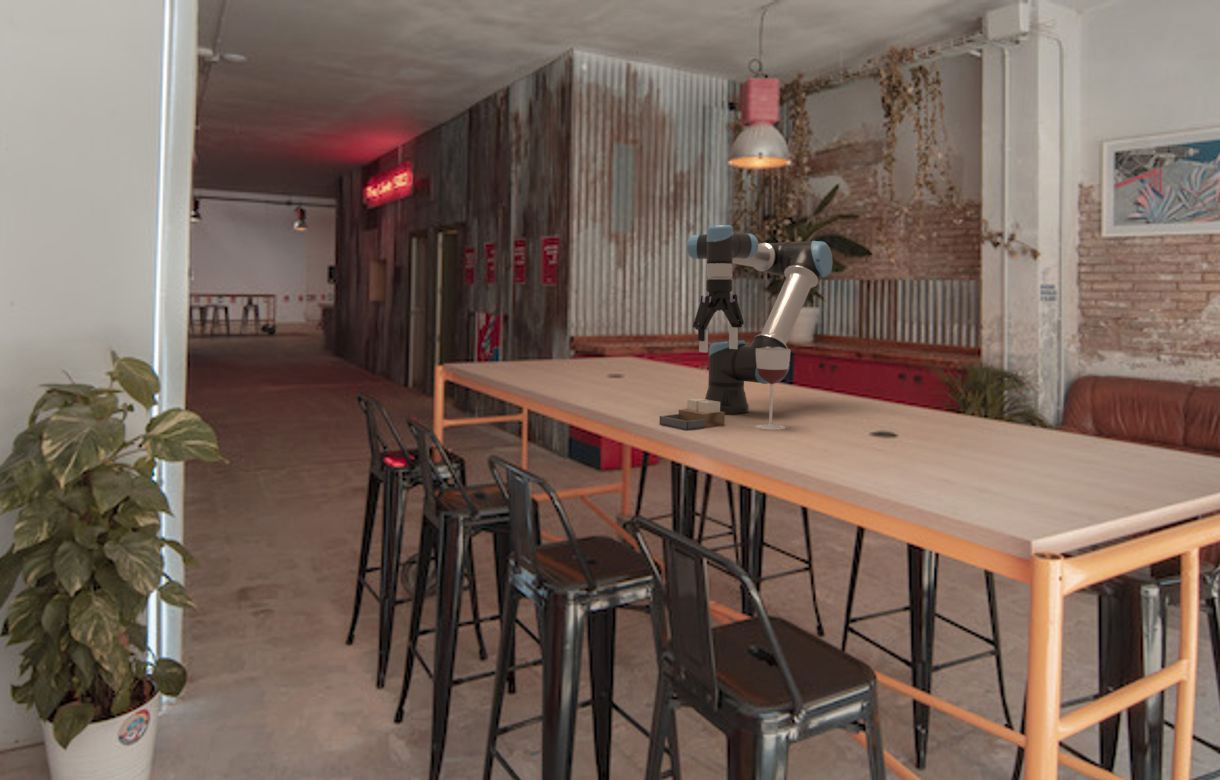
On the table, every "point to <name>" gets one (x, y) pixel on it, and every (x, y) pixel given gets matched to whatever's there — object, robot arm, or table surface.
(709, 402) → the beige block
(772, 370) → the wineglass
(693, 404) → the beige block
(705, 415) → the board
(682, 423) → the tray
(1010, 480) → the table surface
